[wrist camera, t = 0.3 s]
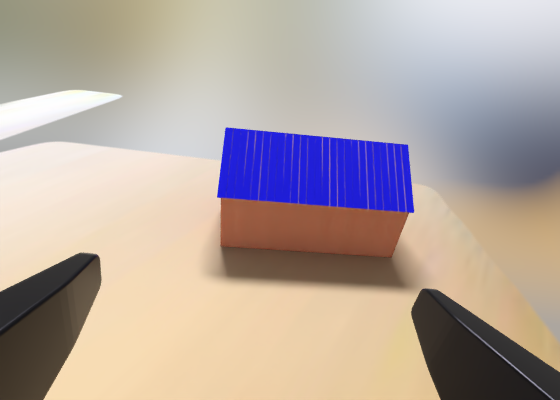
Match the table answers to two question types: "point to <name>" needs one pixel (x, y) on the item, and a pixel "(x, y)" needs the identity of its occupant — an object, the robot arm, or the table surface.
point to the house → (313, 193)
